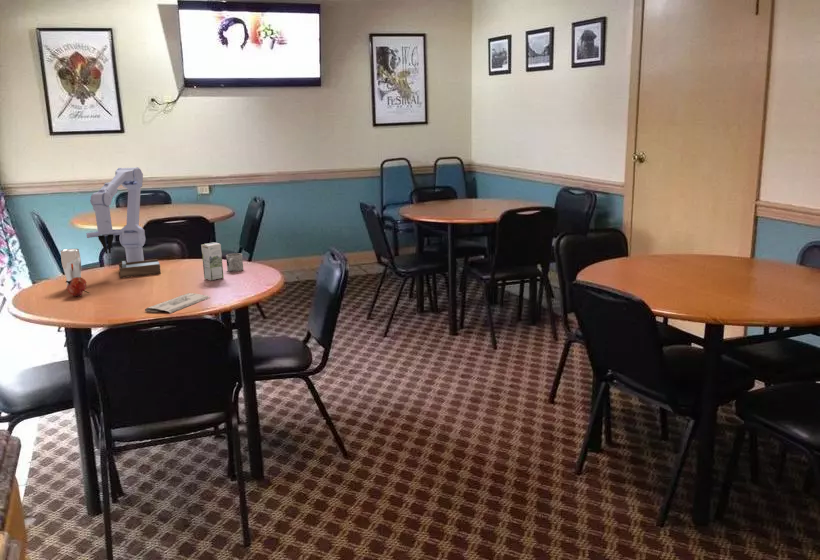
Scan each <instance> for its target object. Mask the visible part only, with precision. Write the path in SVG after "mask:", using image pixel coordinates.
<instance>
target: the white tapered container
mask: <svg viewBox="0 0 820 560" xmlns="http://www.w3.org/2000/svg"><path fill="white" fill-rule="evenodd" d="M60 258H61V259H60V260H61V261H60V262H61V265H62V268H63V272H64V275H65V277H66V278H65V279H66V281H70V280H72V279H73V278H75V277H81V278H82V259H81V253H80V249H79V248H69V249H63V250H60ZM67 285H68V283H67V282H66V286H67Z"/></svg>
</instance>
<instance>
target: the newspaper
mask: <svg viewBox="0 0 820 560" xmlns="http://www.w3.org/2000/svg"><path fill="white" fill-rule="evenodd" d="M209 297H210V296H209V295H205V294H200V293H192V292H191V293H190V292H189V293H185V294H183V295H182V294H181V295H179V296H177V297H174V298H171V299H169V300H165V301H163V302H161V303H157V304H155V305H151V306H149V307H148V306H147V307H146V308H145V309H144V311H145V312H150V313H158V312H161V311H165V312H168V313H169V314H173V313H175V312H178V311H180V310H184V309H185V308H188V307H191V306H193V305H195V304H198V303H200V301H201V302H203V301H206V300H208V299H207V298H209ZM205 299H206V300H205ZM209 299H210V298H209Z"/></svg>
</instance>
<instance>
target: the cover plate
mask: <svg viewBox="0 0 820 560" xmlns="http://www.w3.org/2000/svg"><path fill="white" fill-rule="evenodd" d="M121 263H122V268H126V267H136V266H145V265H154V264H160V262H159V261H157V262H148V263H138V264H129V265H126V263H127V260H121Z"/></svg>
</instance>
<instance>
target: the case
mask: <svg viewBox="0 0 820 560" xmlns="http://www.w3.org/2000/svg"><path fill="white" fill-rule="evenodd" d="M158 260H159V259H157V258H156V259H147V260H145V259H144V261H136V262H127V261H126V265H129V264H138V263H148V262H157V261H158ZM158 262H159V261H158ZM118 268H119V275H120V279H122V278H123V277H125V278H131V276H133V277H141V276H140V275H142V276H149V274H151V275H159V274H158V273H160V274H161V264H160V263H159V264H154V265H145V266H136V267H126V268H122V262H120V263H118ZM123 279H124V278H123Z"/></svg>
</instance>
